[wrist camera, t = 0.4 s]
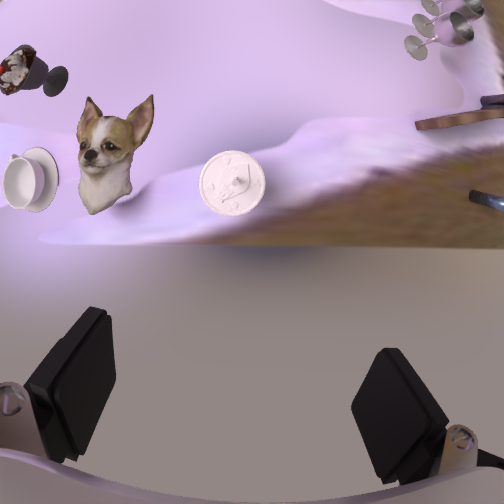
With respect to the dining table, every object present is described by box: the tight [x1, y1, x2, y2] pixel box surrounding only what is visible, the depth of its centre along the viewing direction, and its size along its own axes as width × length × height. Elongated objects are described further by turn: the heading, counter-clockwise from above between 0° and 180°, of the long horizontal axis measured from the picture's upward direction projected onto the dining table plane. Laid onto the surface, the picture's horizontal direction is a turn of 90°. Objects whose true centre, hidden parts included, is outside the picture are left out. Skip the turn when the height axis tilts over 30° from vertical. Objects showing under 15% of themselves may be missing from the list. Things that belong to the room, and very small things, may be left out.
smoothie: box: [199, 151, 266, 216], centre depth 30 cm, size 6×6×14 cm
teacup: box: [2, 147, 58, 212], centre depth 33 cm, size 10×10×5 cm
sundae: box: [0, 45, 68, 97], centre depth 23 cm, size 7×7×15 cm
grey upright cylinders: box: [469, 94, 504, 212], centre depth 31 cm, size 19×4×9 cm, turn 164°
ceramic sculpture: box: [76, 95, 154, 215], centre depth 31 cm, size 11×9×15 cm
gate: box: [415, 106, 504, 130], centre depth 30 cm, size 18×2×8 cm, turn 109°
